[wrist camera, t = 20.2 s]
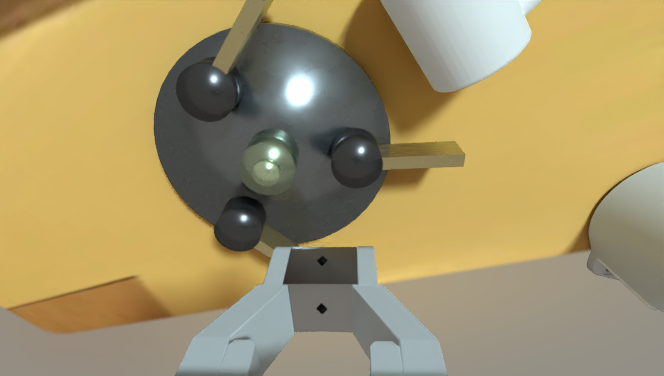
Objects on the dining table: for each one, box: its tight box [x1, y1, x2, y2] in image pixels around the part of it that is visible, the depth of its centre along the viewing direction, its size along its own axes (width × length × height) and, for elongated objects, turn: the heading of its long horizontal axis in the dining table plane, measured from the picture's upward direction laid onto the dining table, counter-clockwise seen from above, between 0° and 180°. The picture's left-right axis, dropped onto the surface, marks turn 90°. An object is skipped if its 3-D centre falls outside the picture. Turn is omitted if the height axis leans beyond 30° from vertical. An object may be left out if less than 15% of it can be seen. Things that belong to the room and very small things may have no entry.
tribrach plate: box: [154, 22, 390, 244], centre depth 33 cm, size 23×23×7 cm
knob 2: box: [214, 196, 300, 258], centre depth 37 cm, size 12×5×3 cm, turn 49°
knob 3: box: [331, 128, 465, 188], centre depth 32 cm, size 12×5×3 cm, turn 93°
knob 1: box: [176, 0, 273, 122], centre depth 28 cm, size 12×5×3 cm, turn 144°
